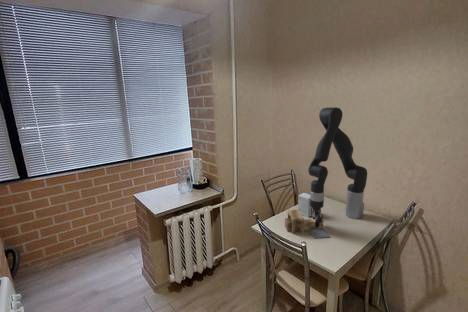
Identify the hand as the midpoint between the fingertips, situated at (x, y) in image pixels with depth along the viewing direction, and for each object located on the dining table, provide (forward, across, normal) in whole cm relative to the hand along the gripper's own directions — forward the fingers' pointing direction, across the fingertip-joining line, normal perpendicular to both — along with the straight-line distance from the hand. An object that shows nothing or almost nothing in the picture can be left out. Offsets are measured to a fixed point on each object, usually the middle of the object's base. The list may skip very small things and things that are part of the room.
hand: (315, 224), depth 148 cm
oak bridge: (+1, 0, +12) cm, 12 cm away
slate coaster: (+1, -7, 0) cm, 7 cm away
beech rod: (+1, 0, +4) cm, 5 cm away
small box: (+2, +17, 0) cm, 17 cm away
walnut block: (+1, 0, +15) cm, 15 cm away
